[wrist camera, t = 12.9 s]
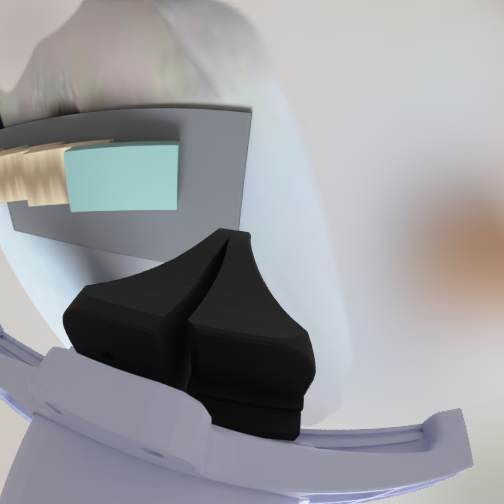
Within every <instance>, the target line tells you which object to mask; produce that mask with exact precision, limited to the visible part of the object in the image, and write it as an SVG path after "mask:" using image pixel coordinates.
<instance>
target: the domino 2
mask: <svg viewBox="0 0 504 504" xmlns="http://www.w3.org/2000/svg"><path fill="white" fill-rule="evenodd" d="M104 143H114V139H106V140H95V141H85V142H77V143H69V144H62V145H55V146H49V147H43V148H38V149H32V150H29V151H27V152H25V153H24V154H22V155H21V162H22V170H23V177H24V183H25V189H26V195H27V200H28V205H29V207H30V206H42V205H55V204H70V203H69V196H68V189H67V181H66V173H65V162H64V151H66V150H68V149H70V148H71V147H74V146H83V145H92V144H104Z"/></svg>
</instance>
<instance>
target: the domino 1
mask: <svg viewBox="0 0 504 504" xmlns="http://www.w3.org/2000/svg"><path fill="white" fill-rule="evenodd" d="M62 144H66V141H62V142H56V143H50V144H44V145H38V146H33V147H28V148H23V149H18V150H14V151H9V152H5V153H2V154H0V203H3V202H11V201H20V200H27V195H26V189H25V183H24V177H23V170H22V162H21V155H22V154H24V153H25V152H27V151H29V150H32V149H38V148H43V147H49V146H55V145H62Z"/></svg>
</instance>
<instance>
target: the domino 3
mask: <svg viewBox="0 0 504 504" xmlns="http://www.w3.org/2000/svg"><path fill="white" fill-rule="evenodd" d="M179 150H180V141H137V142H118V143H104V144H92V145H83V146H74V147H71V148H70V149H68V150H66V151H64V162H65V173H66V181H67V189H68V196H69V203H70V209H71V212H85V211H117V210H177V206H178V181H179Z"/></svg>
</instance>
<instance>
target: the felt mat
mask: <svg viewBox="0 0 504 504" xmlns="http://www.w3.org/2000/svg"><path fill="white" fill-rule="evenodd" d="M251 118H252V113H247V112H237V111H226V110H212V109H192V108H139V109H120V110H107V111H96V112H87V113H79V114H72V115H65V116H59V117H53V118H47V119H42V120H37V121H32V122H28V123H23V124H19V125H15V126H11V127H7V128H3V129H0V149H4V148H5V150H8V149H12V148H16V147H20V146H25V145H28V147H33V146H38V145H44V144H50V143H56V142H62V141H66V144H69V143H77V142H85V141H95V140H106V139H114V143H118V142H137V141H180V150H179V181H178V206H177V210H117V211H85V212H71V209H70V204H55V205H42V206H30V207H29V205H28V200H20V201H11V202H7V203H8V208H9V212H10V216H11V220H12V224H13V228H14V230H15V231H19V232H23V233H27V234H32V235H36V236H40V237H45V238H49V239H53V240H58V241H62V242H67V243H71V244H76V245H81V246H85V247H90V248H95V249H100V250H104V251H109V252H114V253H119V254H124V255H129V256H134V257H139V258H144V259H149V260H154V261H160V262H165V263H166V262H168V261H170V260H172V259H174V258H176V257H177V256H179V255H181V254H182V253H184V252H186V251H187V250H189V249H191V248H192V247H194V246H195V245H197V244H198V243H199V242H201V241H202V240H204V239H205V238H206V237H208V236H209V235H210V234H212V233H213V232H215V231H216V230H217V229H219V228H224V229H231V230H237V231H239V223H240V213H241V204H242V195H243V186H244V177H245V168H246V159H247V151H248V142H249V134H250V126H251Z"/></svg>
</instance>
